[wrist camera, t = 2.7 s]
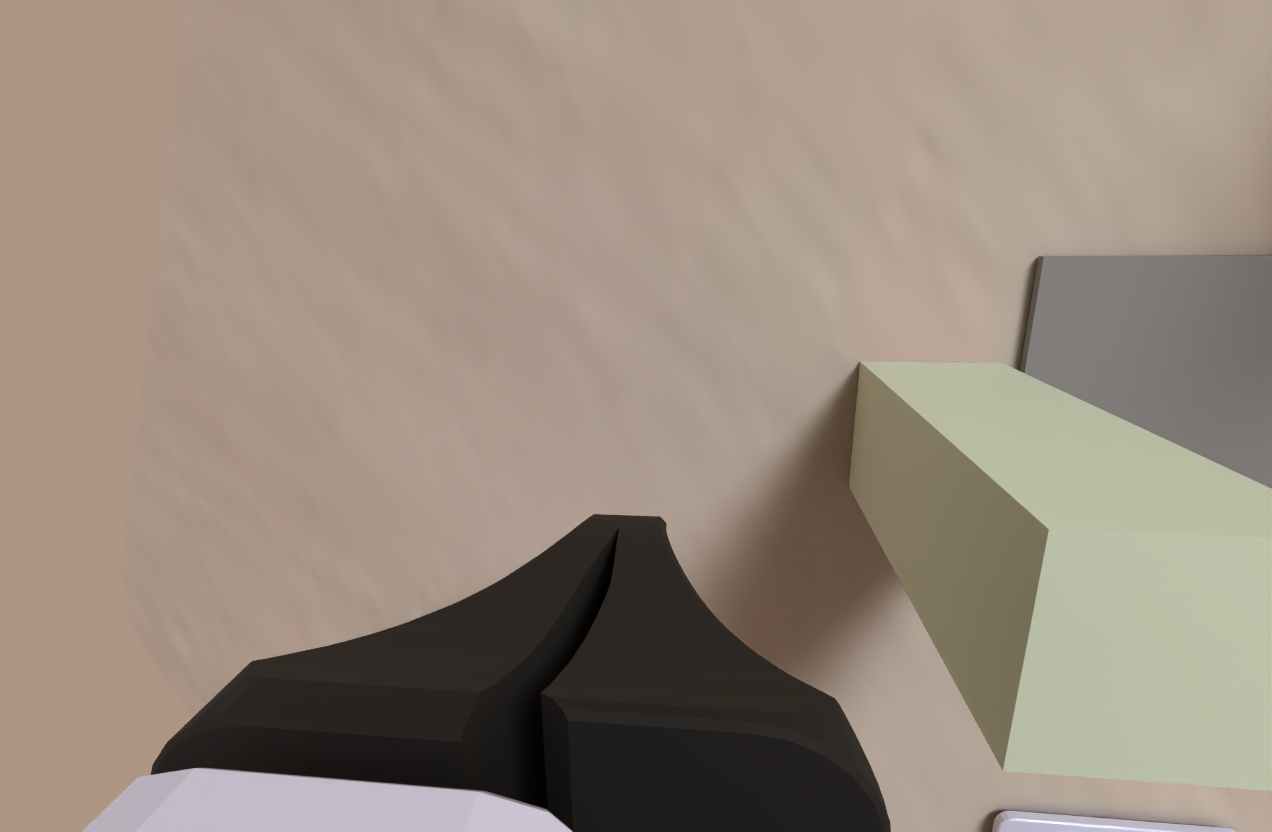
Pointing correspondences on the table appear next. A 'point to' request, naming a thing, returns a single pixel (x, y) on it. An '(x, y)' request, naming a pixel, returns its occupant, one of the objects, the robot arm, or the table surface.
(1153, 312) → the mat
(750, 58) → the table surface
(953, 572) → the sage block
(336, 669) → the robot arm
